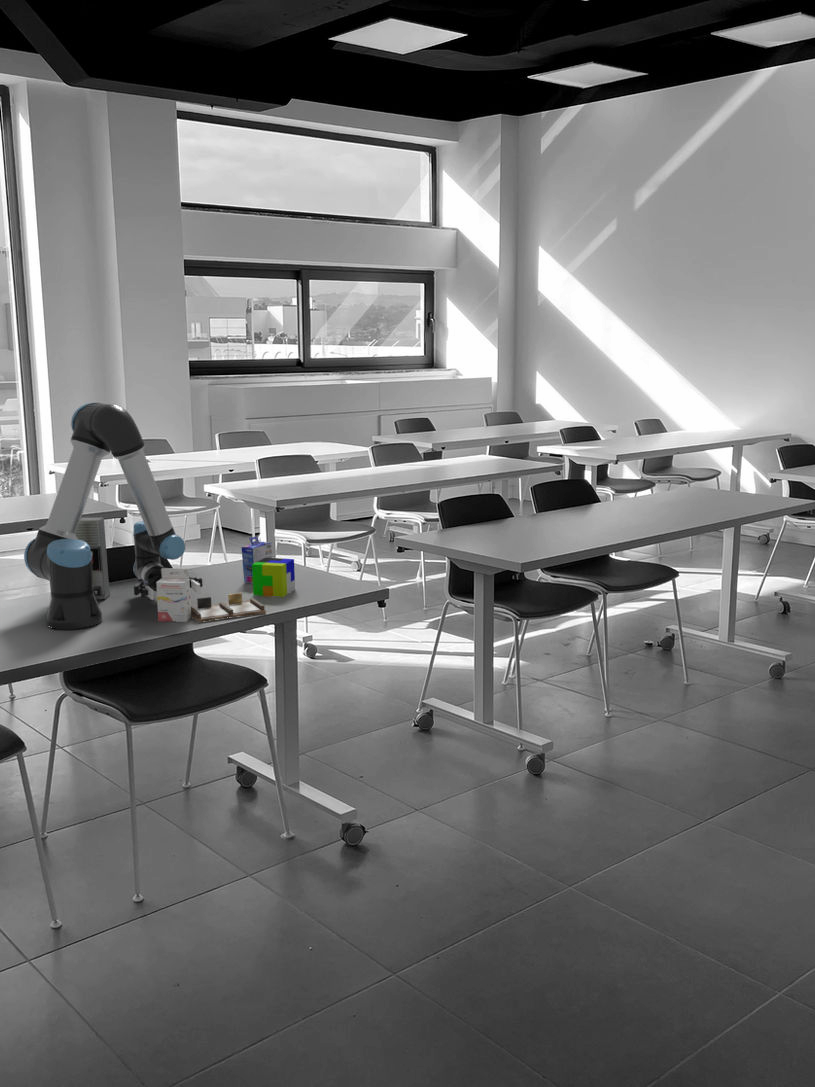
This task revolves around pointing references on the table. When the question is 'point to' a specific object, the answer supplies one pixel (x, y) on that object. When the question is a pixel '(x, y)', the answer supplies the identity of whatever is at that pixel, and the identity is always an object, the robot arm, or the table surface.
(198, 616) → the tag dock board
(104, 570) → the tall grey box
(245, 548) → the ink cartridge box
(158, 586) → the ink cartridge box
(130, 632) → the table surface
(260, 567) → the puzzle toy
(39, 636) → the table surface
